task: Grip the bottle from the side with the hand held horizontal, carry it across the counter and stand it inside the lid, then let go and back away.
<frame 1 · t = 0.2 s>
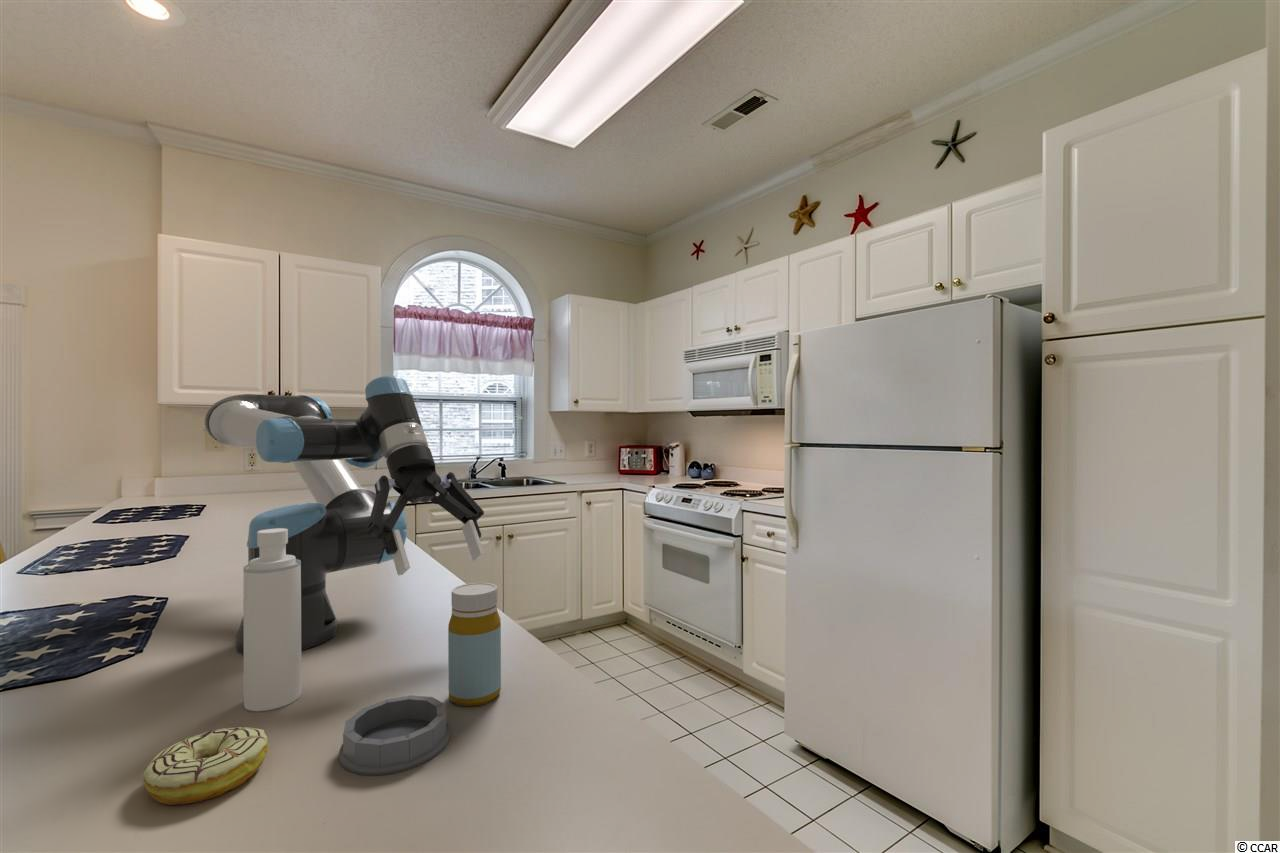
hand: (443, 564, 93), 15 cm above the countertop, tool tilted 35°, fingers open, 13 cm apart
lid: (396, 744, 67), on the countertop
decorated donut: (208, 781, 61), on the countertop
bottle: (475, 697, 79), on the countertop
spray bottle: (273, 701, 78), on the countertop
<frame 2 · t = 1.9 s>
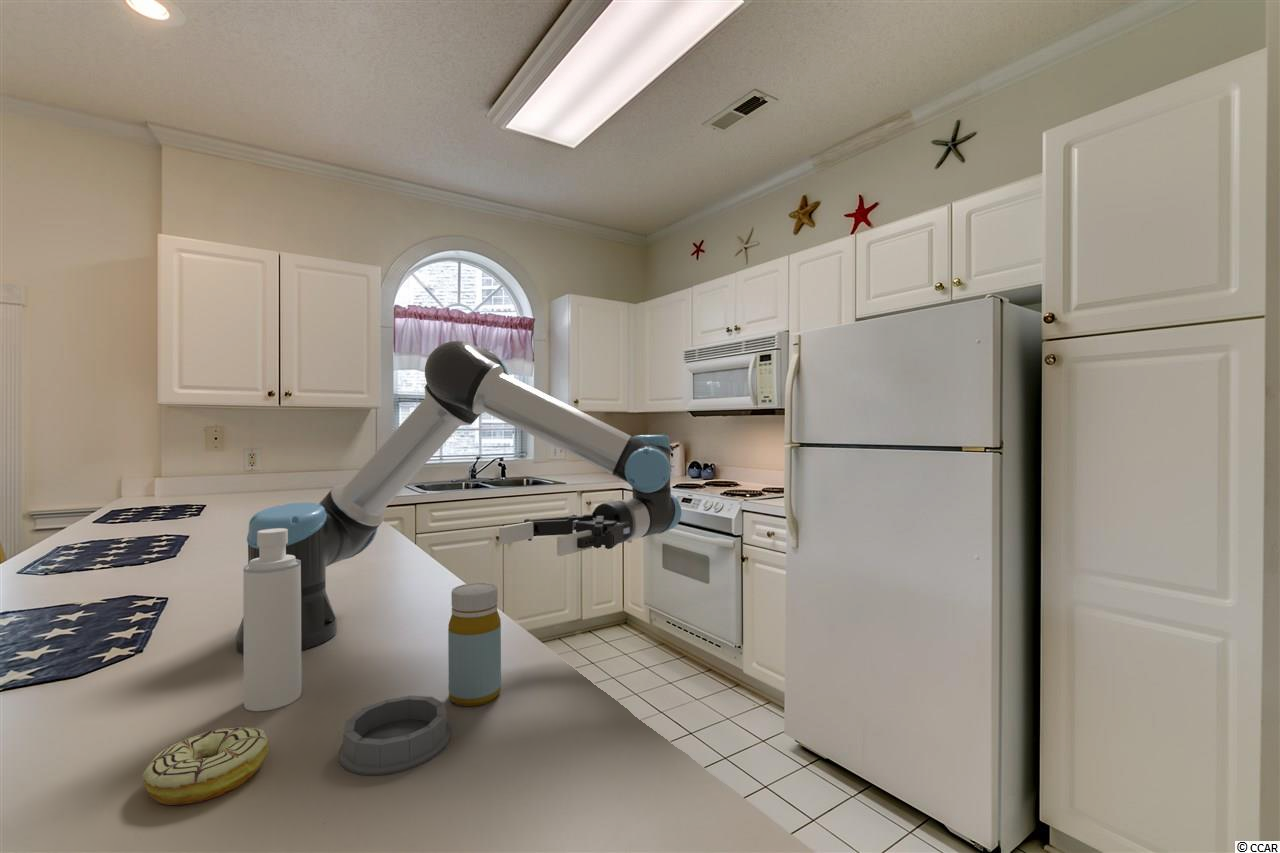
hand: (527, 540, 87), 20 cm above the countertop, tool horizontal, fingers open, 13 cm apart
nothing on the countertop moved.
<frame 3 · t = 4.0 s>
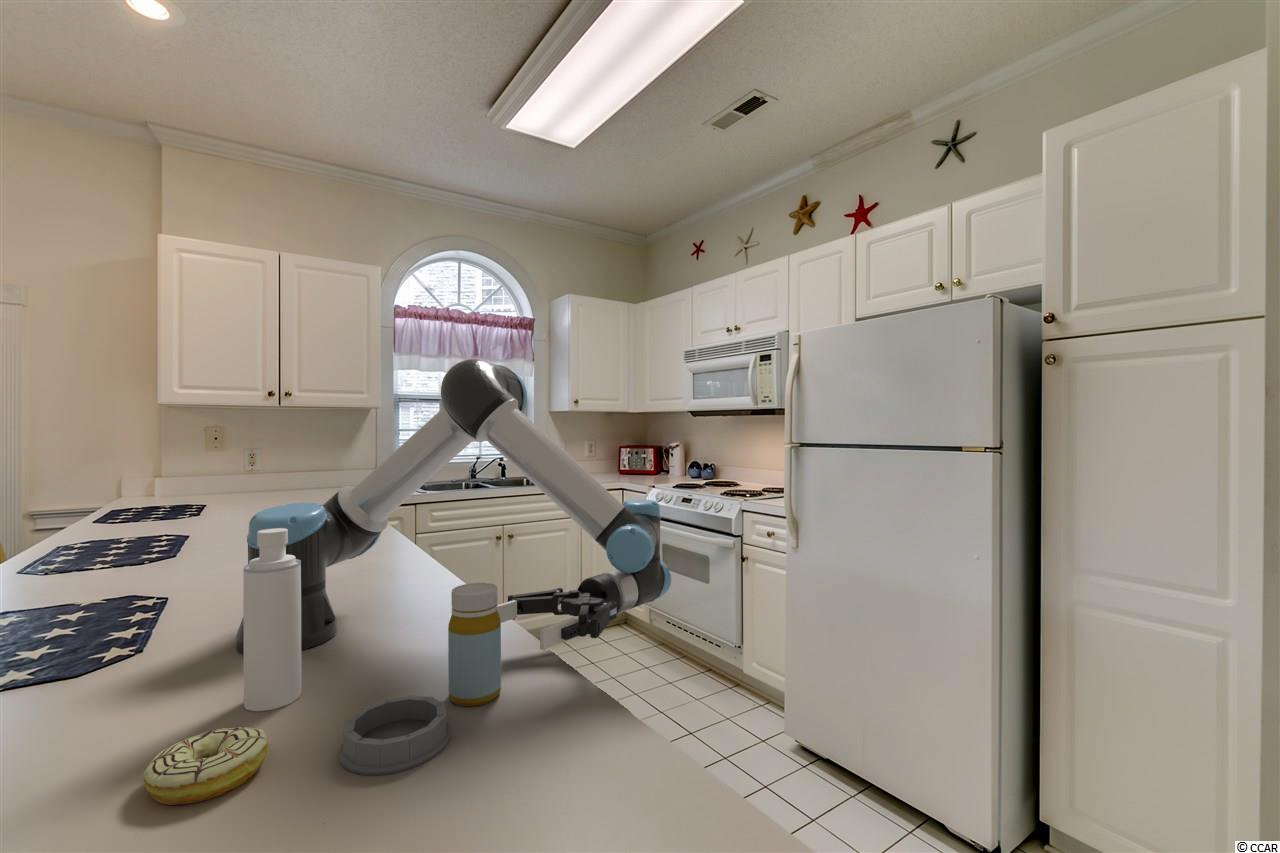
hand: (510, 629, 83), 8 cm above the countertop, tool horizontal, fingers open, 13 cm apart
nothing on the countertop moved.
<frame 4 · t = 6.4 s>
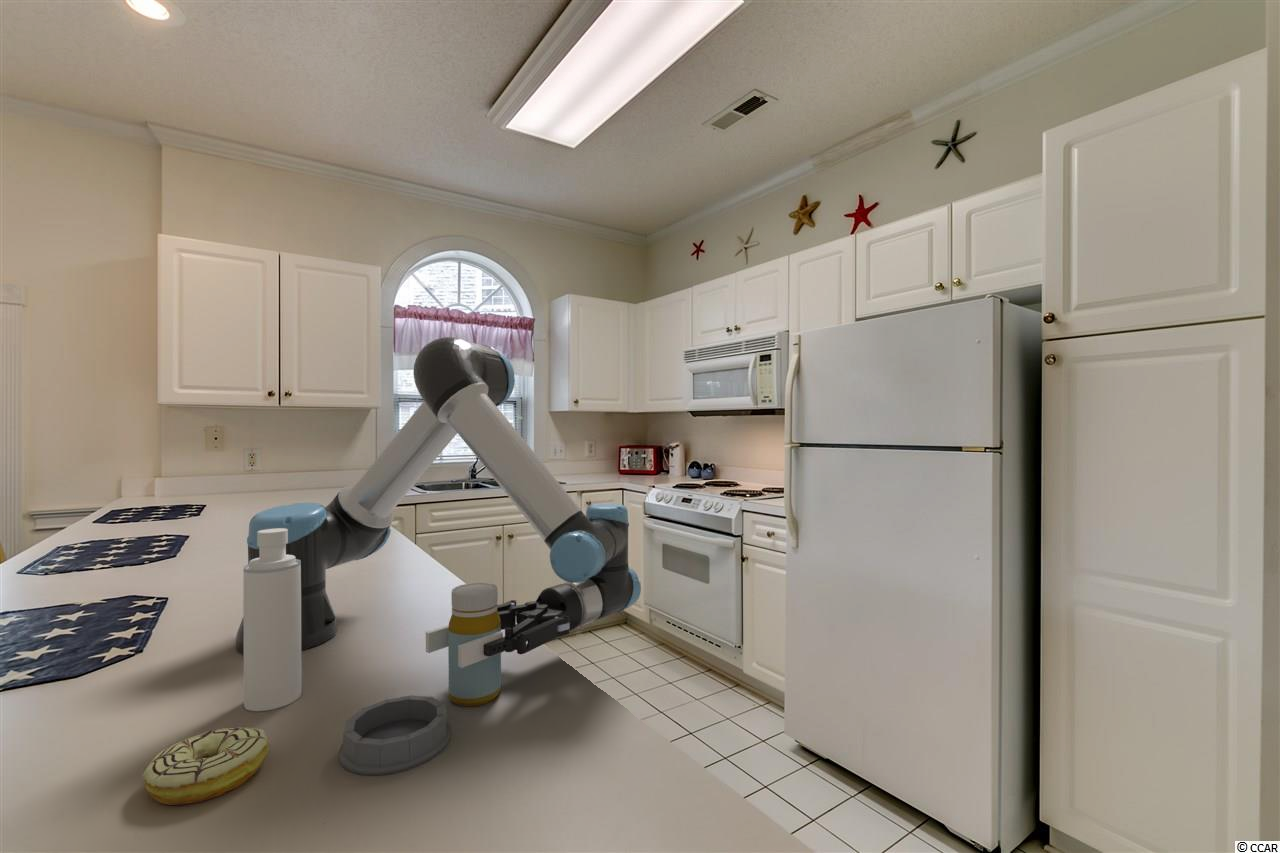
hand: (443, 649, 75), 8 cm above the countertop, tool horizontal, fingers closed on bottle, 7 cm apart
bottle: (475, 697, 79), on the countertop, touching gripper
everything else where it was.
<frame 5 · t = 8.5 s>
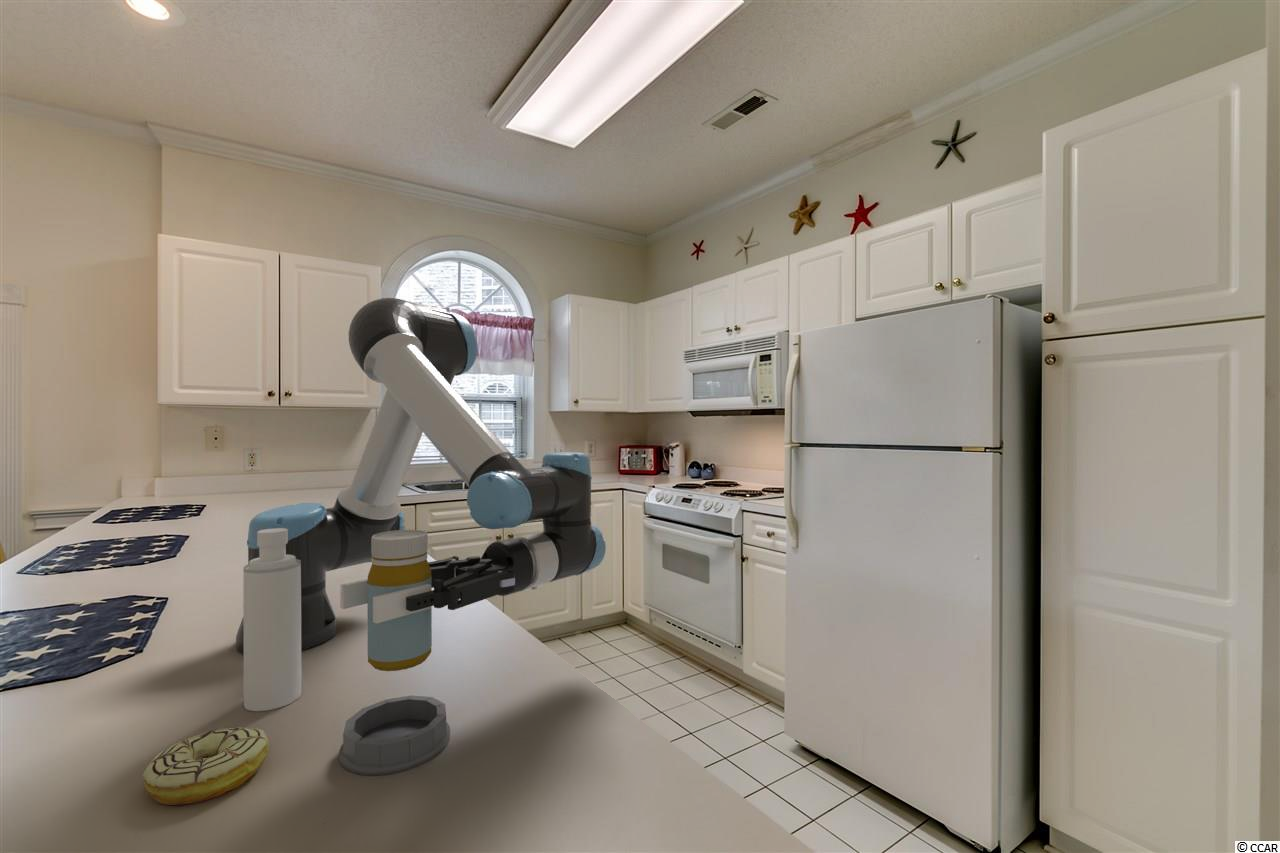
hand: (358, 603, 64), 18 cm above the countertop, tool horizontal, fingers closed on bottle, 7 cm apart
bottle: (400, 662, 67), point 10 cm above the countertop, touching gripper
everything else where it was.
when the fingers open (10 cm above the countertop, at t = 10.8 s): bottle drops 1 cm, resting on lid.
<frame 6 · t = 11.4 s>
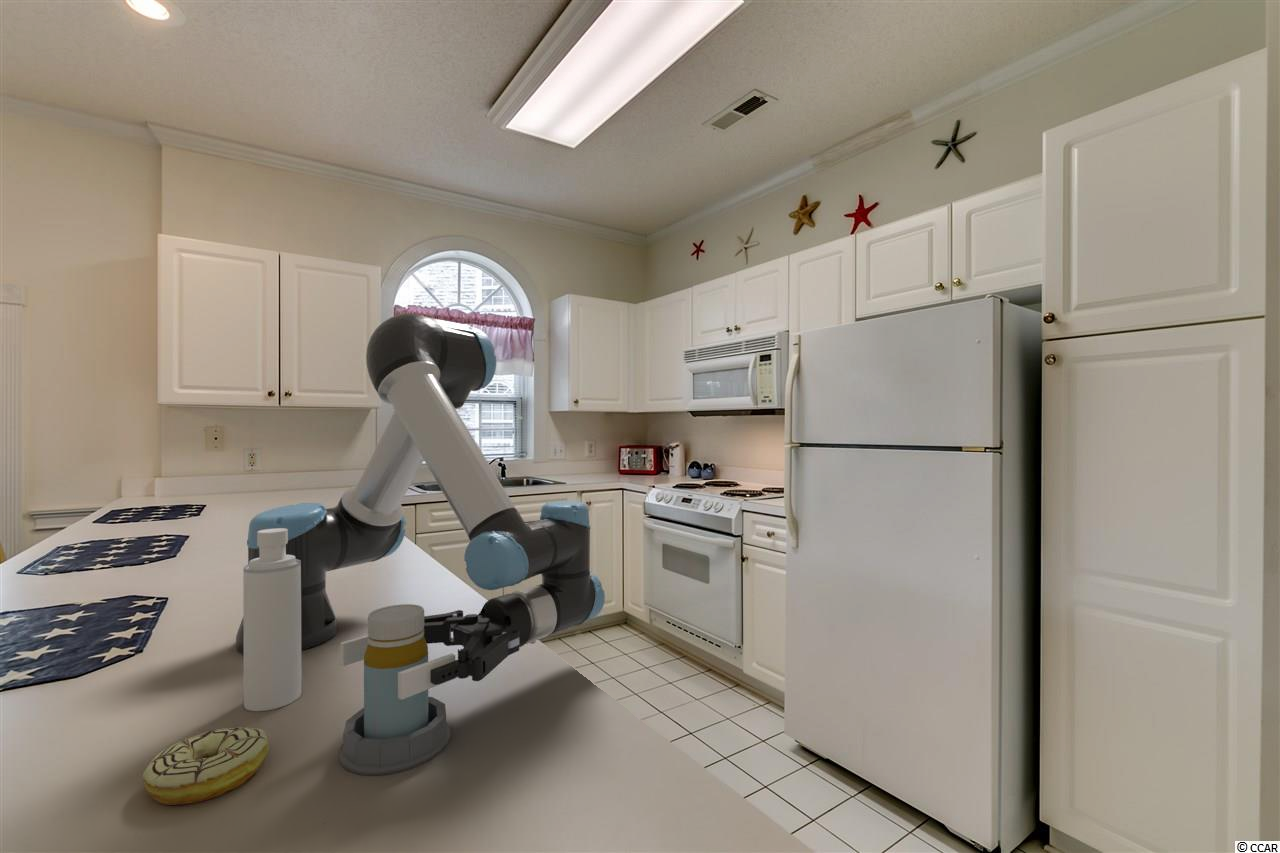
hand: (368, 669, 65), 10 cm above the countertop, tool horizontal, fingers open, 13 cm apart
bottle: (396, 740, 67), resting on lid
everything else where it was.
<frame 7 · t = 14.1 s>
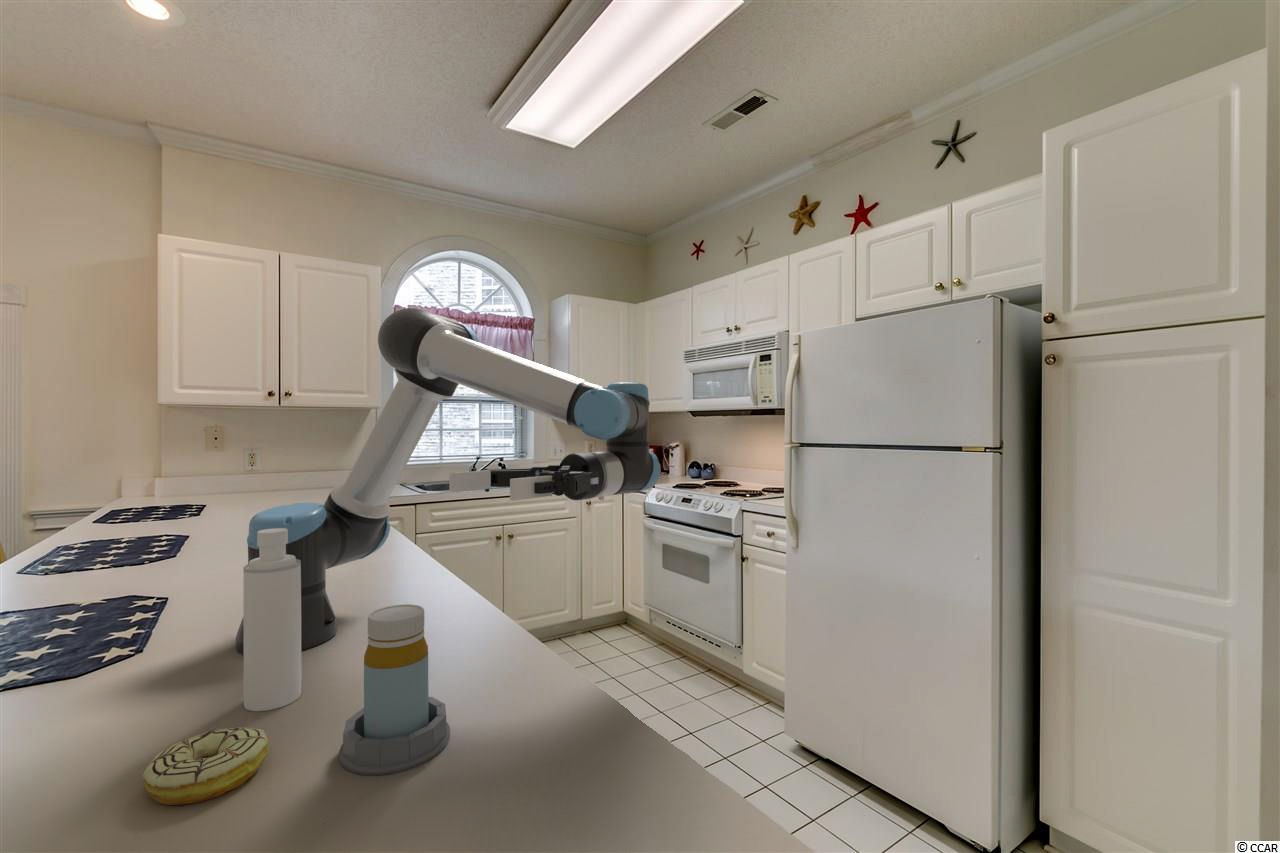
hand: (479, 486, 76), 30 cm above the countertop, tool horizontal, fingers open, 13 cm apart
nothing on the countertop moved.
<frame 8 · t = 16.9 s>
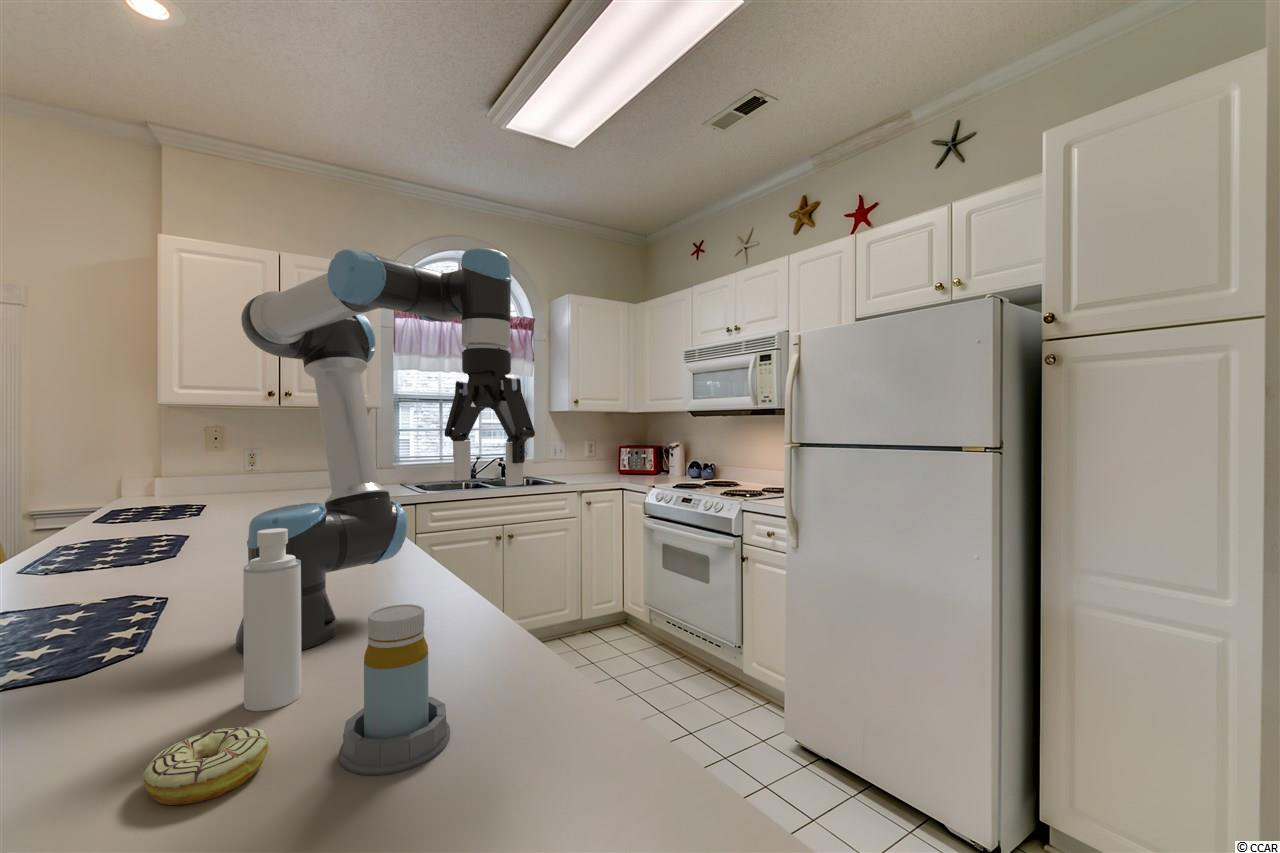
hand: (487, 482, 90), 29 cm above the countertop, tool pointing down, fingers open, 13 cm apart
nothing on the countertop moved.
at the end: bottle 0.1 cm from the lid (horizontally); bottle tilted 0°; the gripper is holding nothing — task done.
